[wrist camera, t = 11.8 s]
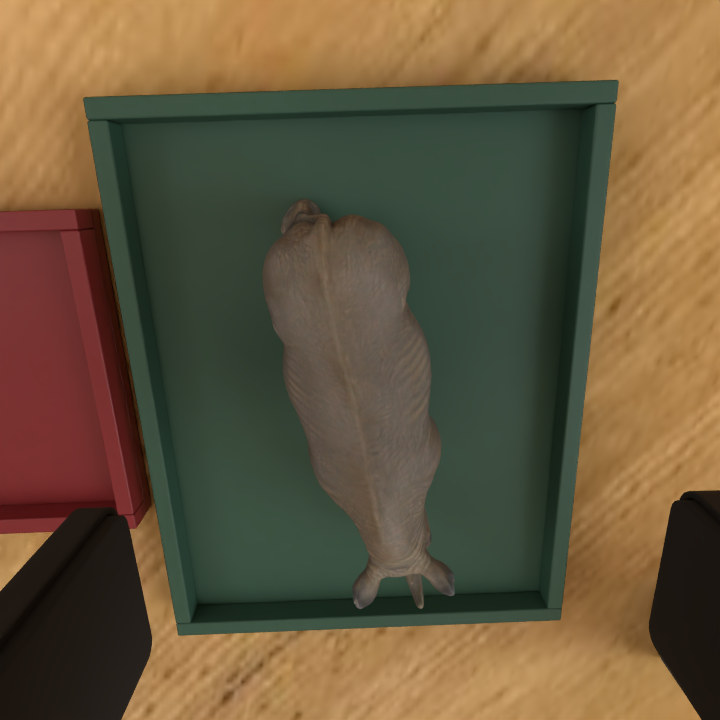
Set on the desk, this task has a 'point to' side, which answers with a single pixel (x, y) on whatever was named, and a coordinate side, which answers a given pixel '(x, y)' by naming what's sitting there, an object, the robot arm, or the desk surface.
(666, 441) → the desk surface
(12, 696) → the robot arm
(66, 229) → the burgundy tray
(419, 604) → the rhino figurine
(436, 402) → the green tray
